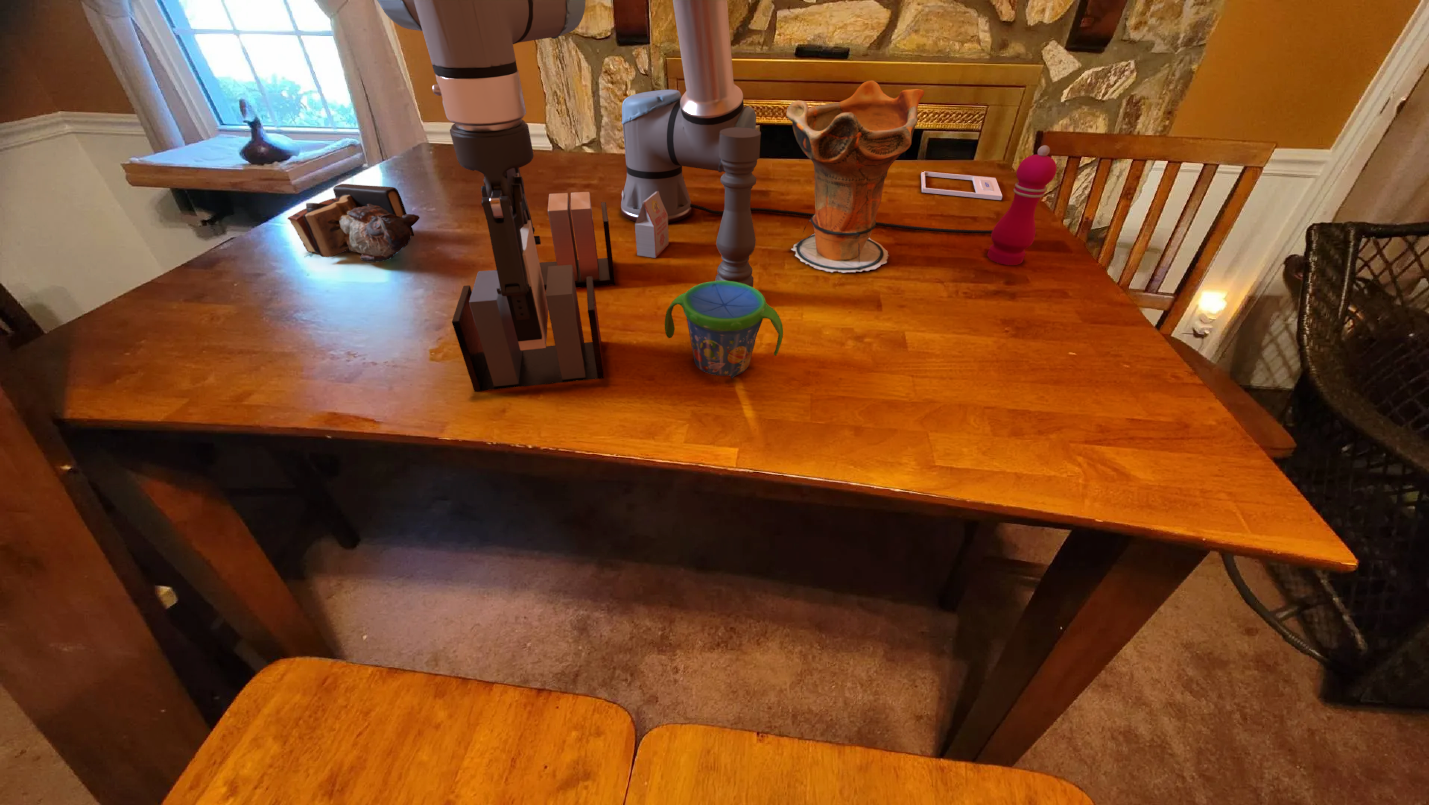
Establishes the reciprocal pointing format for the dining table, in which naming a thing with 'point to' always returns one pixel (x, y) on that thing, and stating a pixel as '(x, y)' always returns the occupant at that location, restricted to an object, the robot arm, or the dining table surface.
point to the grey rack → (535, 362)
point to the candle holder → (737, 203)
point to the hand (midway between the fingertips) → (532, 315)
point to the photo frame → (982, 185)
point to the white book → (534, 286)
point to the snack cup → (723, 324)
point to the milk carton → (652, 227)
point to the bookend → (356, 223)
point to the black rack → (578, 239)
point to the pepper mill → (1022, 209)
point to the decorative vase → (851, 171)
